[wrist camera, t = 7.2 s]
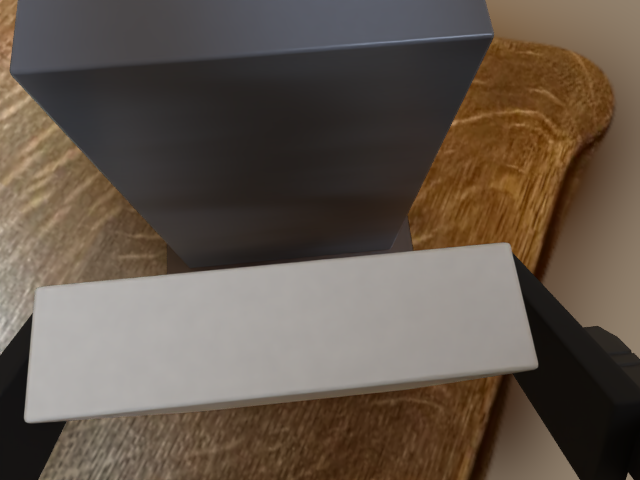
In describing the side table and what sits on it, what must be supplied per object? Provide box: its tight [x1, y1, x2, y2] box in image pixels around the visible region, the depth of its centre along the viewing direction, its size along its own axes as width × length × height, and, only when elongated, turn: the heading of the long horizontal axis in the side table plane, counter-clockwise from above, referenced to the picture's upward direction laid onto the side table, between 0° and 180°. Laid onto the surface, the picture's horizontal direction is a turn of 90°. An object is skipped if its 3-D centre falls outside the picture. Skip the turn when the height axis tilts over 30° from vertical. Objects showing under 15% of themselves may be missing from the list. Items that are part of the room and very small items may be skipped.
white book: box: [24, 242, 538, 423], centre depth 15 cm, size 9×2×13 cm, turn 96°
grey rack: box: [10, 0, 494, 274], centre depth 17 cm, size 11×10×15 cm
